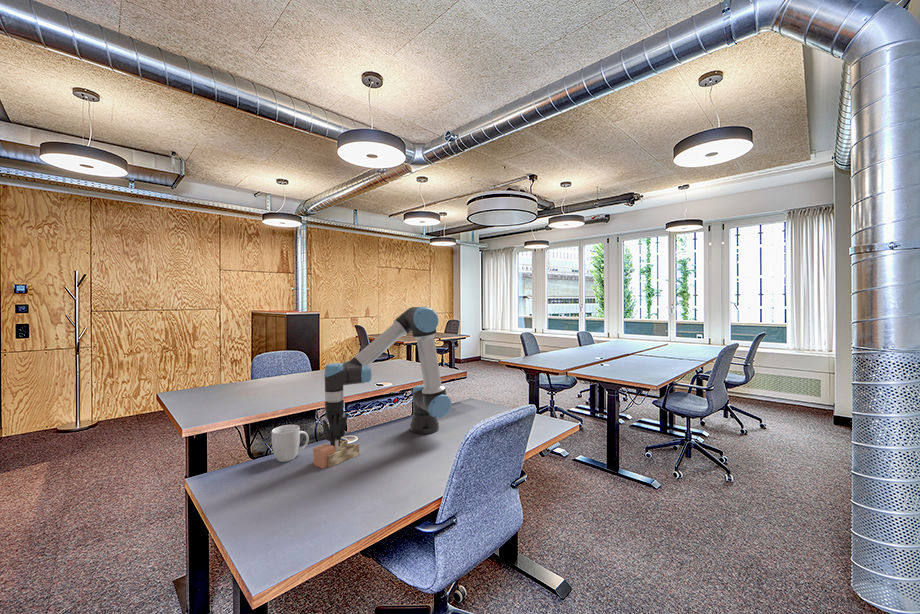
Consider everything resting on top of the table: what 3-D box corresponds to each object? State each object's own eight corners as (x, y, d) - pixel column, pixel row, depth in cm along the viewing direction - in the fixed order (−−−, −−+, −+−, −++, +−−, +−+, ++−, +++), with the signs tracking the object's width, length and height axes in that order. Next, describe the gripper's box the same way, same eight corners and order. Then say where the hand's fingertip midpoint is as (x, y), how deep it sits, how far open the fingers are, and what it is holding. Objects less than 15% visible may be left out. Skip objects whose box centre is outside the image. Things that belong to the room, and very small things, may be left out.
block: (326, 459, 159) (326, 443, 159) (334, 463, 156) (334, 446, 156) (313, 464, 154) (313, 448, 154) (322, 468, 151) (321, 451, 151)
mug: (305, 449, 171) (304, 420, 171) (312, 456, 163) (312, 427, 162) (269, 458, 162) (268, 428, 161) (275, 466, 153) (274, 435, 153)
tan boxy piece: (345, 449, 170) (345, 437, 170) (360, 454, 164) (359, 442, 164) (315, 461, 158) (315, 448, 158) (330, 467, 152) (330, 453, 151)
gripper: (341, 395, 167) (342, 448, 167) (315, 402, 156) (316, 458, 157) (352, 398, 162) (353, 452, 163) (326, 405, 152) (327, 462, 152)
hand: (335, 455), depth 160 cm, fingers closed
